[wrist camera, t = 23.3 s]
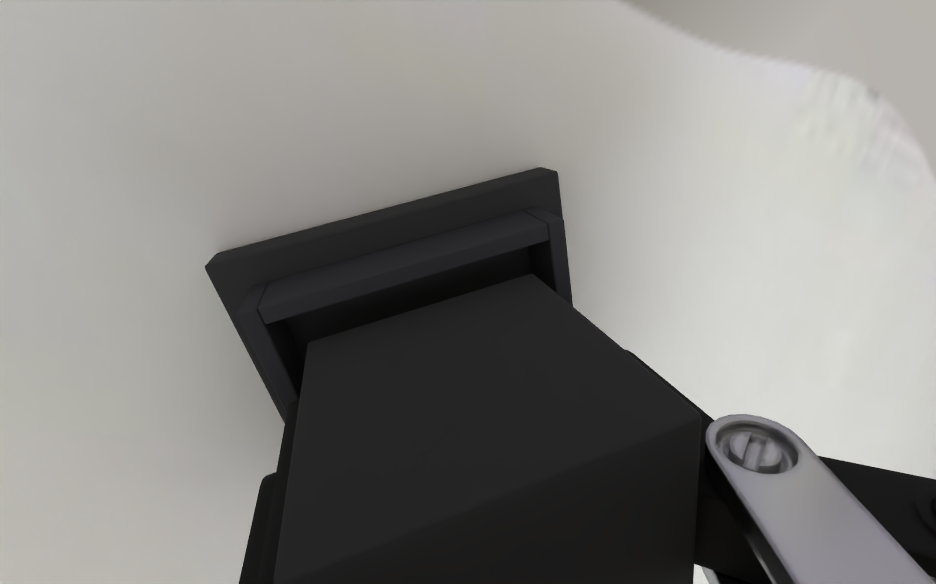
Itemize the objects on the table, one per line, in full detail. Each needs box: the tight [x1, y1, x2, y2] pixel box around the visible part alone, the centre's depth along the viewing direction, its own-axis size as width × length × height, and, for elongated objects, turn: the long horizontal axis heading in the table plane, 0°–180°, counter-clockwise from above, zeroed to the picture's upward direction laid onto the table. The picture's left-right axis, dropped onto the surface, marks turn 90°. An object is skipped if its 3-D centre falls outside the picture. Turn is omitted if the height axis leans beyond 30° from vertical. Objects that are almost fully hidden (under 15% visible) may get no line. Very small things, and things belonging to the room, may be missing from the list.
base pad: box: [205, 167, 573, 423], centre depth 11 cm, size 8×8×2 cm
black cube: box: [274, 274, 702, 584], centre depth 8 cm, size 5×5×5 cm
